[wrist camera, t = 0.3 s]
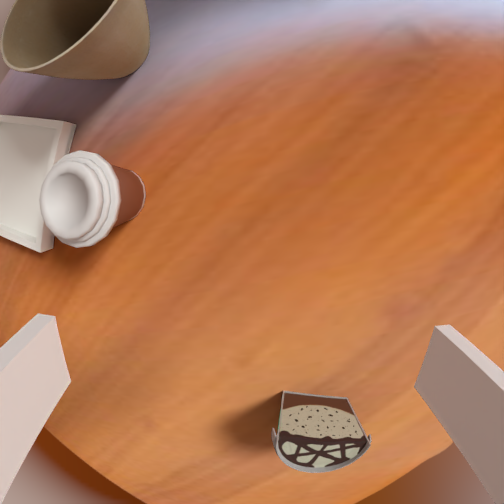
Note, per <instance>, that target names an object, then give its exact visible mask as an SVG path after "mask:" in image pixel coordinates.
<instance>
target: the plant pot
mask: <svg viewBox="0 0 504 504" xmlns="http://www.w3.org/2000/svg"><path fill="white" fill-rule="evenodd" d="M149 47H150V31H149V20H148V14H147V8H146V3H145V0H16V1H15V3H14V4H13V6H12V8H11V10H10V12H9V14H8V16H7V19H6V21H5V24H4V27H3V31H2V35H1V54H2V57H3V60H4V62H5V63H6V65H7V66H8V67H10V68H11V69H13V70H16V71H21V72H27V73H33V74H39V75H45V76H51V77H59V78H69V79H87V80H99V79H115V78H122V77H125V76H127V75H129V74H131V73H133V72H134V71H136V70H137V69H138V68H139V67H140V66H141V65H142V64H143V62H144V61H145V59H146V57H147V55H148V52H149Z"/></svg>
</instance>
